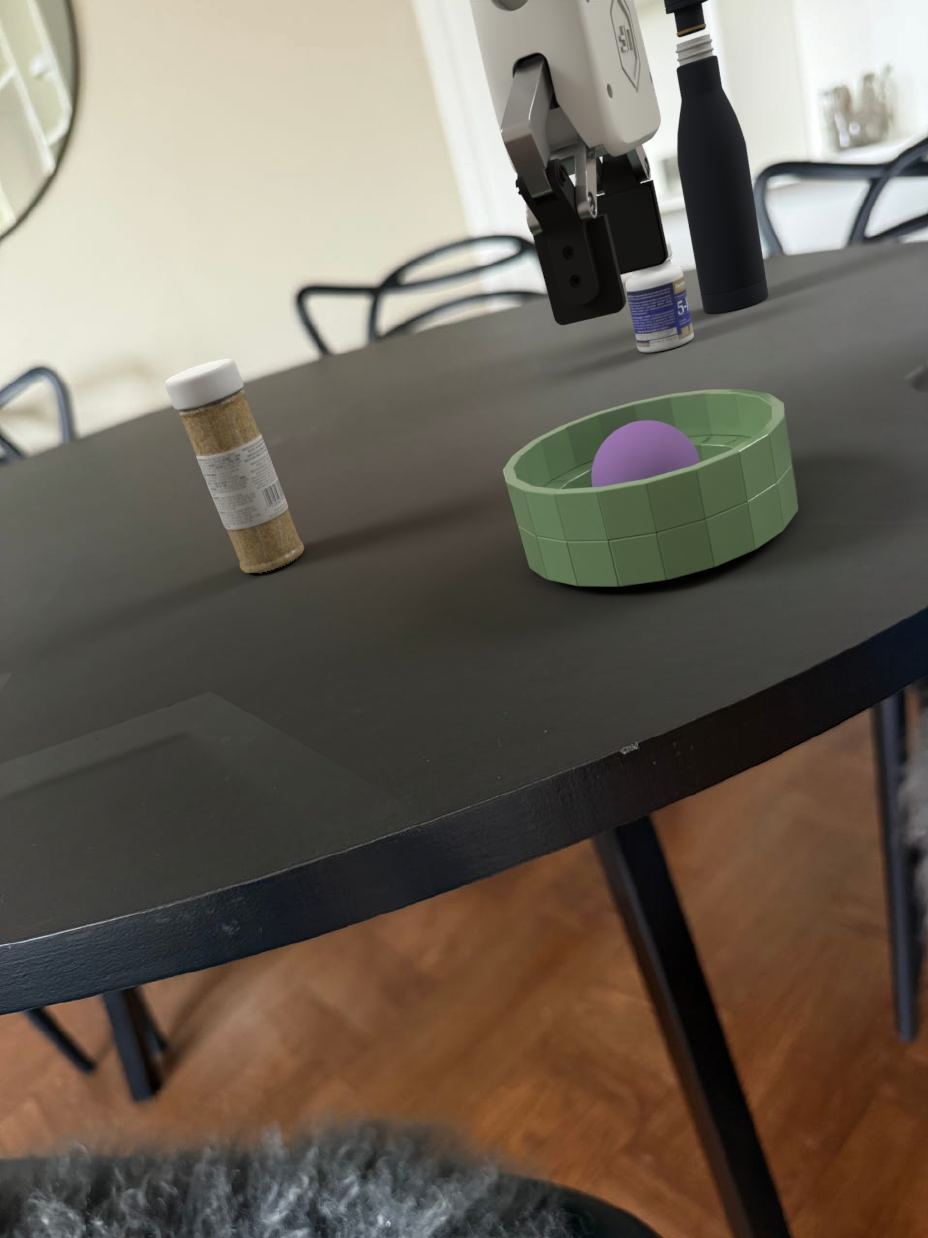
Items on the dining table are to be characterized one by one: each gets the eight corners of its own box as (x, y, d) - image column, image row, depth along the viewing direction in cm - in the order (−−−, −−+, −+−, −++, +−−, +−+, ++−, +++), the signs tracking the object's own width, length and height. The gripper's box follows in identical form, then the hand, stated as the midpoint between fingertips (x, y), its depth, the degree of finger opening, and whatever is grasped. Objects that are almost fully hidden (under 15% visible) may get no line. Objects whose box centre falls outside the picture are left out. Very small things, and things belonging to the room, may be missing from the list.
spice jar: (273, 547, 70) (200, 361, 64) (319, 546, 67) (247, 351, 62) (228, 577, 67) (147, 384, 61) (275, 577, 64) (195, 375, 59)
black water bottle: (745, 310, 96) (688, -43, 84) (691, 316, 101) (630, -17, 89) (781, 291, 100) (732, -51, 87) (727, 297, 104) (673, -27, 92)
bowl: (649, 475, 61) (631, 389, 59) (857, 492, 50) (844, 387, 48) (478, 574, 55) (450, 481, 53) (674, 619, 44) (649, 504, 41)
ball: (652, 499, 56) (631, 404, 54) (732, 507, 51) (713, 404, 49) (583, 541, 53) (558, 442, 51) (661, 553, 49) (638, 446, 47)
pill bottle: (696, 343, 90) (677, 242, 86) (638, 357, 91) (618, 259, 87) (693, 331, 94) (676, 235, 91) (638, 345, 96) (619, 251, 92)
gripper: (545, -204, 32) (658, 320, 39) (652, -143, 46) (721, 236, 53) (351, -107, 35) (486, 359, 42) (505, -77, 49) (588, 271, 56)
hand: (617, 291), depth 48 cm, fingers open, 9 cm apart
